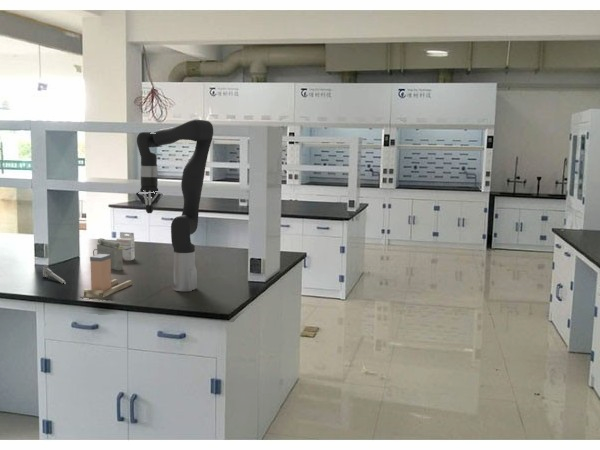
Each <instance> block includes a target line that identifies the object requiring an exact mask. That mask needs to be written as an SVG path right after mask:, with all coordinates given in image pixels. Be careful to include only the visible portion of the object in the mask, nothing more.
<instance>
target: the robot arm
mask: <svg viewBox="0 0 600 450" xmlns="http://www.w3.org/2000/svg"><path fill="white" fill-rule="evenodd" d="M151 132H152V131H140V132H139V133H137V137H136V145H137V148H138V151H139V152H138V153H139V155H140V190H139V191H138V192H136V193H135V194H136V195H135V196H137V198H138V200H139V201H140V203H142V204H144V205H145V211H146V213H147V214H152V213H153V212H154V205H156V204H158V202H159V201H160V200H161V199H162V197H163V195H164V194H163V193H162V192H160V191H159V188H158V183H159V182H158V176H159V175H158V167H157V166H158V160H157V154H156V153H154V152H151V148H158V147H161V146H166V145H171V144H174V143H176V142H178V141H183V140H184V141H192V142H196V143H195V149H194V151H193V153H192V155H191V157H190V158H189V160H188V162H187V163H186V165H184V168H183V171H182V175H181V184H180V186H181V188H180V189H181V192H182V197H183V207H182V212H181V213H182V214H181V215H179V216H176V217H174V218H173V219H172V221H171V224H170V225H171V226H170V237H171V238H170V239H171V245H172V248H173V290H174V291H176V292H193V291H195V290H196V289H197V288H198V287H197V282H198V281H197V280H198V279H197V278H198V277H197V274H198V273H197V271H198V270H197V267H196V265H195V264H196V260H195V259H196V256H195V255H196V252H195V250H196V247H195V246H196V245H194V243H192V241H191V235H193V234H194V233H195V232H196V231H197V229H198V226H199V213H200V212H199V210H200V201H201V195H202V190H203V185H204V179H205V171H206V167H207V161H208V157H209V152H210V149H211V145H212V140H213V136H214V126H213V123H212V122H211V121H209V120H206V119H205V120H203V119H197V118H196V119H191V120H188V121H186V122H184V123H181V124H179V125H176V126H172V127H168V128H167V127H165V128H161V129H157V130H155V131H153V132H154V133H156V134H150V133H151ZM143 190H144V191H143ZM153 191H154V192H155V191H159V192H155V194H154V193H148V194H138V193H139V192H153ZM156 193H157V194H156ZM192 290H193V291H192Z"/></svg>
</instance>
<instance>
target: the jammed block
mask: <svg viewBox="0 0 600 450" xmlns="http://www.w3.org/2000/svg"><path fill="white" fill-rule="evenodd" d="M94 255H95V256H94ZM94 255H92V256H90V257H89V261H90V287H91V288H90V289H92V290H103V291H105V290H108V289H110V288H112V286H111V281H112V269H111V255H109V254H98V255H97V254H94Z"/></svg>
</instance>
